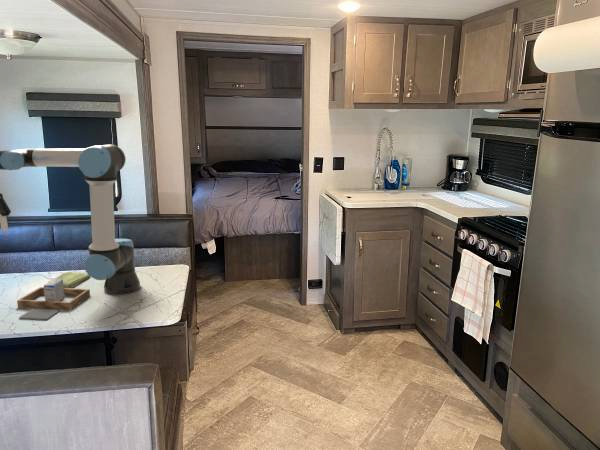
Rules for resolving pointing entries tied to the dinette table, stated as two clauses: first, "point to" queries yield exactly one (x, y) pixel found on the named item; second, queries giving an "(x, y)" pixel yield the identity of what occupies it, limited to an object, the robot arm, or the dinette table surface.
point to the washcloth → (72, 279)
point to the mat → (40, 314)
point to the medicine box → (54, 290)
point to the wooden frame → (31, 303)
